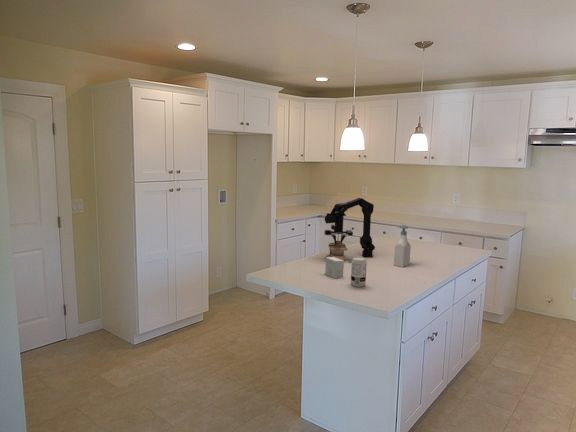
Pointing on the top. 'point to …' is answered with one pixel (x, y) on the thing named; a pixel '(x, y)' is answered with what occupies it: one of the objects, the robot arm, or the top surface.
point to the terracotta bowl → (338, 256)
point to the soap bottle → (402, 249)
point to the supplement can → (358, 272)
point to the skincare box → (334, 267)
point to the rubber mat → (349, 260)
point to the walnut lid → (338, 246)
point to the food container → (336, 250)
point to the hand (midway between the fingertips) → (338, 245)
